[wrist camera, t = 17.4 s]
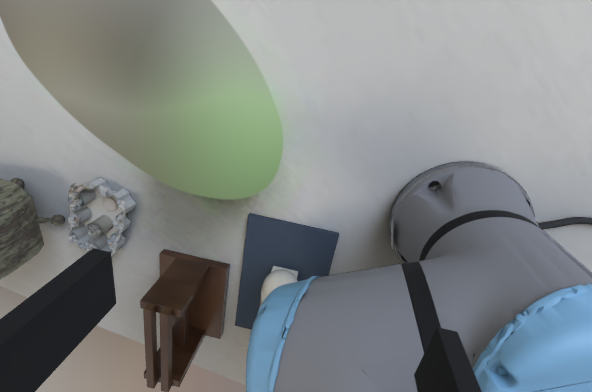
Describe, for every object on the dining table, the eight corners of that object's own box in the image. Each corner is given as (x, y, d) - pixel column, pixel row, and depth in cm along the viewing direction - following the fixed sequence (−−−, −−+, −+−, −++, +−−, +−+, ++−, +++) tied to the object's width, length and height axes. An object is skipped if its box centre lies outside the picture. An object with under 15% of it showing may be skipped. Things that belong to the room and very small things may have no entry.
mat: (338, 232, 41) (338, 235, 41) (310, 340, 50) (309, 343, 49) (249, 213, 42) (248, 215, 41) (236, 322, 50) (235, 325, 50)
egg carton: (93, 169, 43) (69, 180, 39) (144, 197, 43) (125, 210, 40) (77, 228, 47) (54, 242, 43) (123, 252, 48) (105, 268, 44)
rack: (229, 264, 46) (197, 322, 36) (222, 333, 52) (193, 399, 42) (163, 248, 46) (114, 301, 36) (164, 318, 52) (121, 380, 42)
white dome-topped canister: (304, 266, 43) (299, 291, 39) (294, 309, 47) (289, 337, 42) (269, 258, 44) (260, 282, 39) (262, 302, 47) (253, 328, 43)
